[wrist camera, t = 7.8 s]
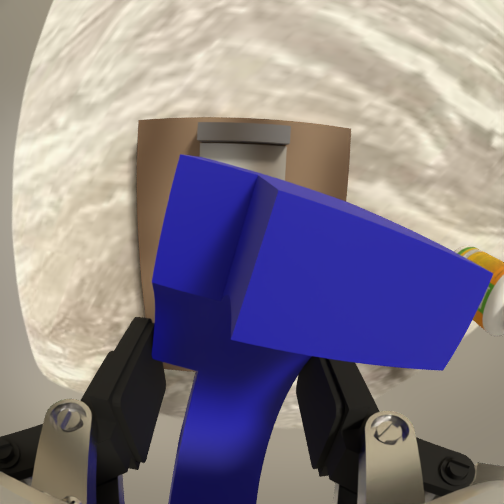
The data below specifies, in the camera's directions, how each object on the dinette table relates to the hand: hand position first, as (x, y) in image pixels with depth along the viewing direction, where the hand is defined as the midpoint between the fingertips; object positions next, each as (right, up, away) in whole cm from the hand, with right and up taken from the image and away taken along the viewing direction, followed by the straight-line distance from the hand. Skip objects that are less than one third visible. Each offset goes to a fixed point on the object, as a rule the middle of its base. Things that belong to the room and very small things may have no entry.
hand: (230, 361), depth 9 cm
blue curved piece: (0, 0, +1) cm, 1 cm away
